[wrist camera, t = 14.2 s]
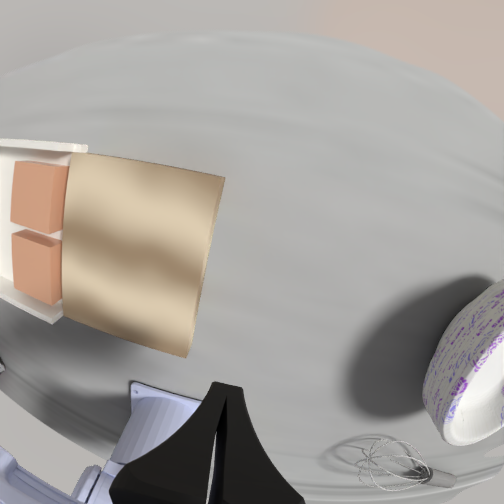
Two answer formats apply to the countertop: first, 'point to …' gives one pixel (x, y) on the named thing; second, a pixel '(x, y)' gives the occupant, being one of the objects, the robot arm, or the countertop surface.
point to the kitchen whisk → (424, 476)
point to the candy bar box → (1, 366)
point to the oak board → (137, 248)
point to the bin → (3, 160)
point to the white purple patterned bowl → (469, 372)
